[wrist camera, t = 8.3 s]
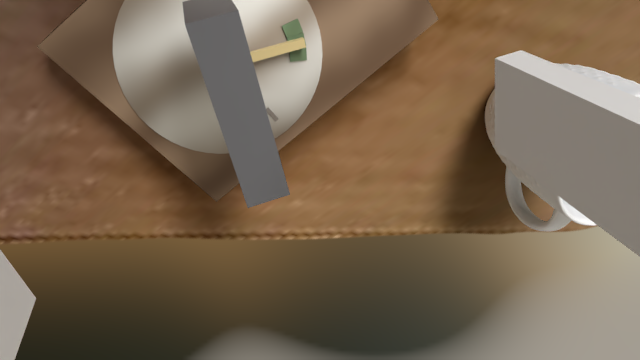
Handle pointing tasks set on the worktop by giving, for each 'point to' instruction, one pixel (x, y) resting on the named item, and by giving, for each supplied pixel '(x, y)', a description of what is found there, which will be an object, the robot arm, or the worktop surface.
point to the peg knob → (238, 94)
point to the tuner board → (187, 81)
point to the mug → (516, 175)
